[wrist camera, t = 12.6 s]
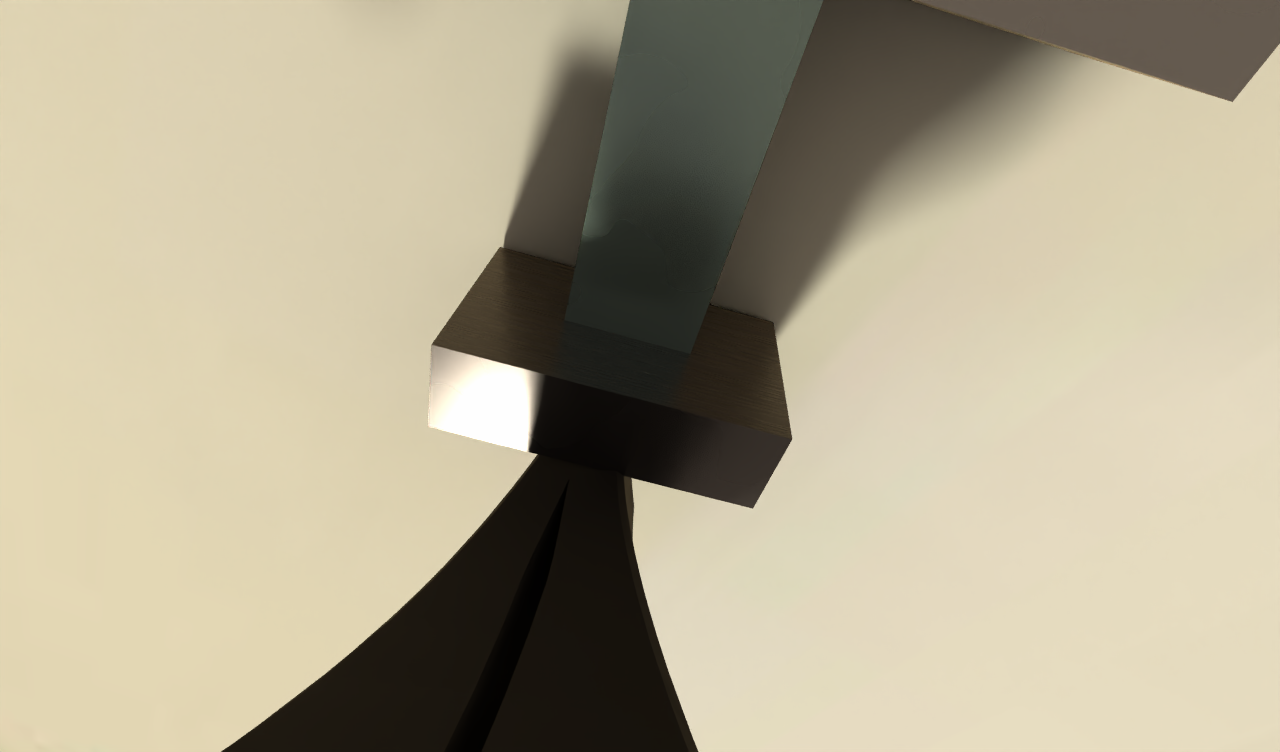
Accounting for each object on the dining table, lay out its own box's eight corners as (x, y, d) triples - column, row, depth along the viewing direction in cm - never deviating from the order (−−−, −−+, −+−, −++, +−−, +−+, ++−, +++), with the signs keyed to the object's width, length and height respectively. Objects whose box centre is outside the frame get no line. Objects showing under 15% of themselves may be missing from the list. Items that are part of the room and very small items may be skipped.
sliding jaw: (359, 282, 11) (255, 382, 8) (323, -535, 6) (6, -923, 3) (864, 417, 12) (905, 547, 9) (1264, -195, 6) (1630, -287, 4)
